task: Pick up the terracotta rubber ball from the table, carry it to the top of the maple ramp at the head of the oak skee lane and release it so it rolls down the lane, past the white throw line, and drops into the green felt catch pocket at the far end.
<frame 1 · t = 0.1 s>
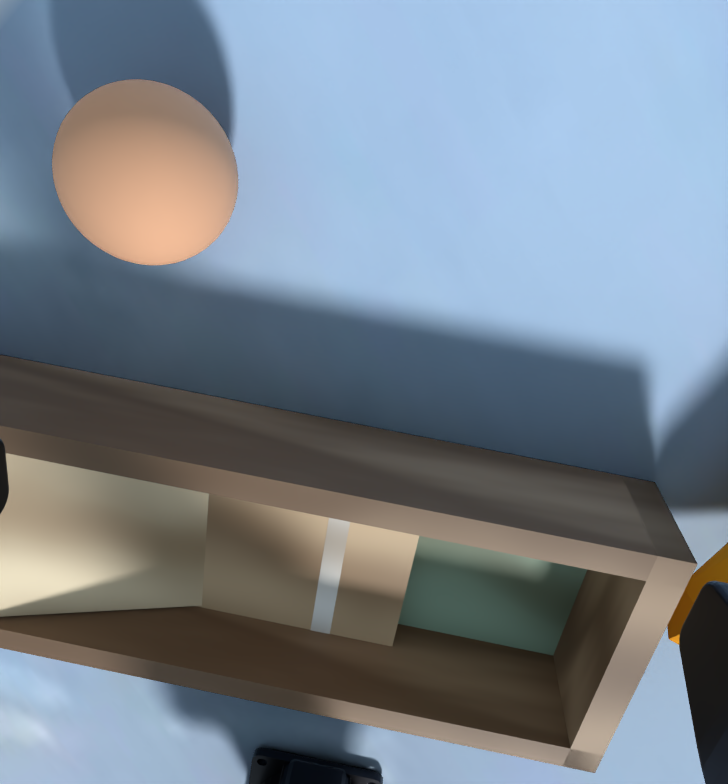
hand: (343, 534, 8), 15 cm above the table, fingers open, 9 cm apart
ball: (149, 176, 19), point 2 cm above the table
lane: (290, 521, 26), on the table
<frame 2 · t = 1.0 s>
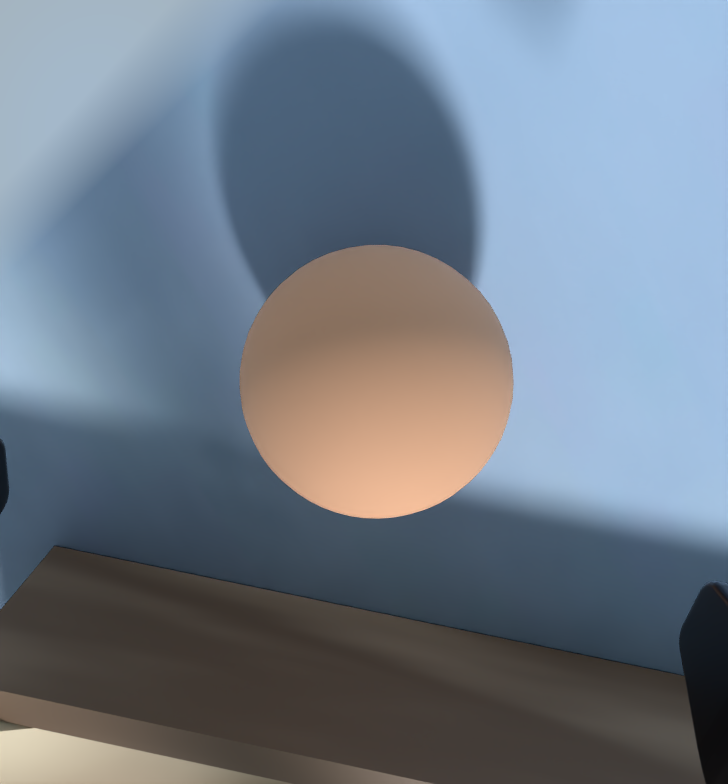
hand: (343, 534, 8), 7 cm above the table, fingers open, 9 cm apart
ball: (375, 381, 12), point 2 cm above the table
lane: (473, 758, 20), on the table
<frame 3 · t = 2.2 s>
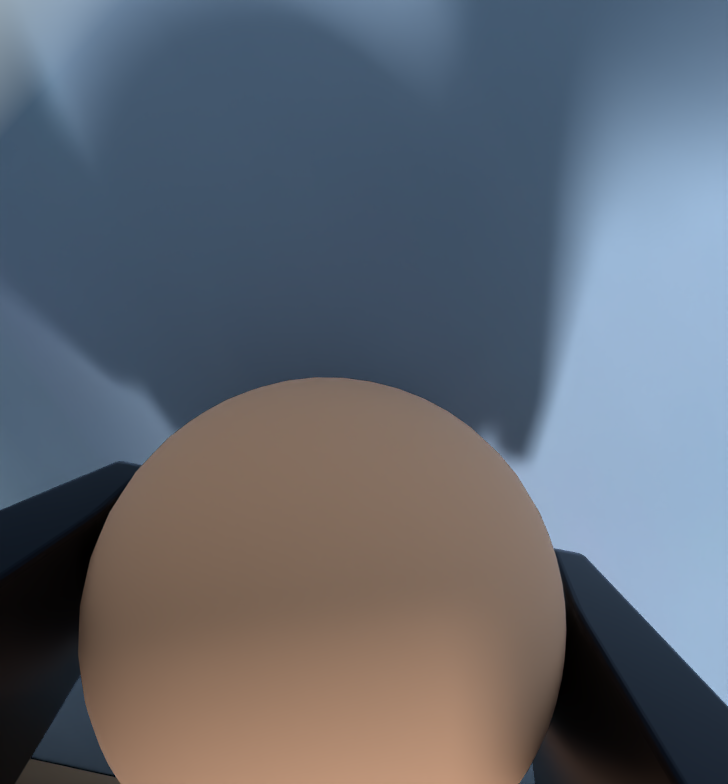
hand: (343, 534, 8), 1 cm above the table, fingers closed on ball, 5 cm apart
ball: (327, 605, 7), point 2 cm above the table, touching gripper
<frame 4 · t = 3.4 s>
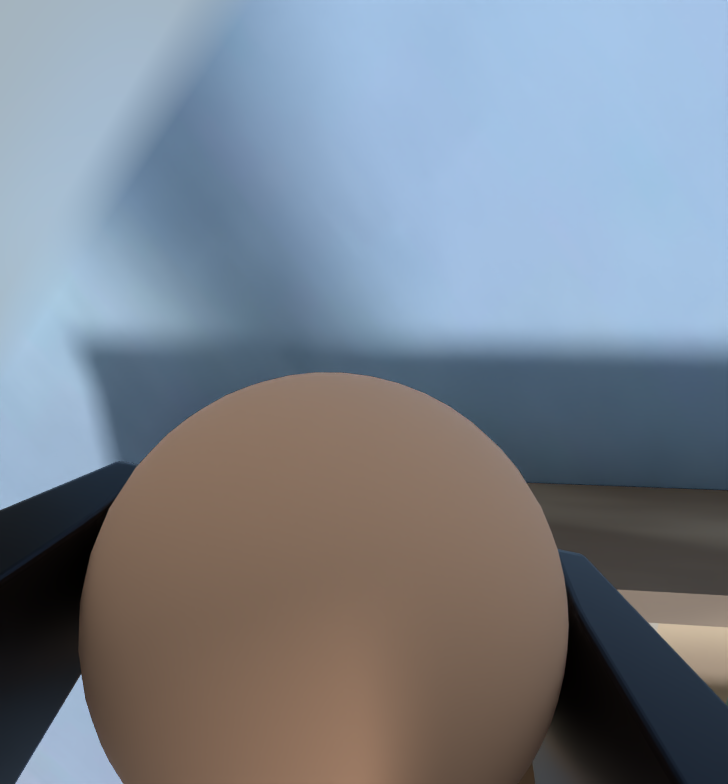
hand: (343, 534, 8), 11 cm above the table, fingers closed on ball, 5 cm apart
ball: (328, 601, 7), point 12 cm above the table, touching gripper
lane: (565, 609, 22), on the table
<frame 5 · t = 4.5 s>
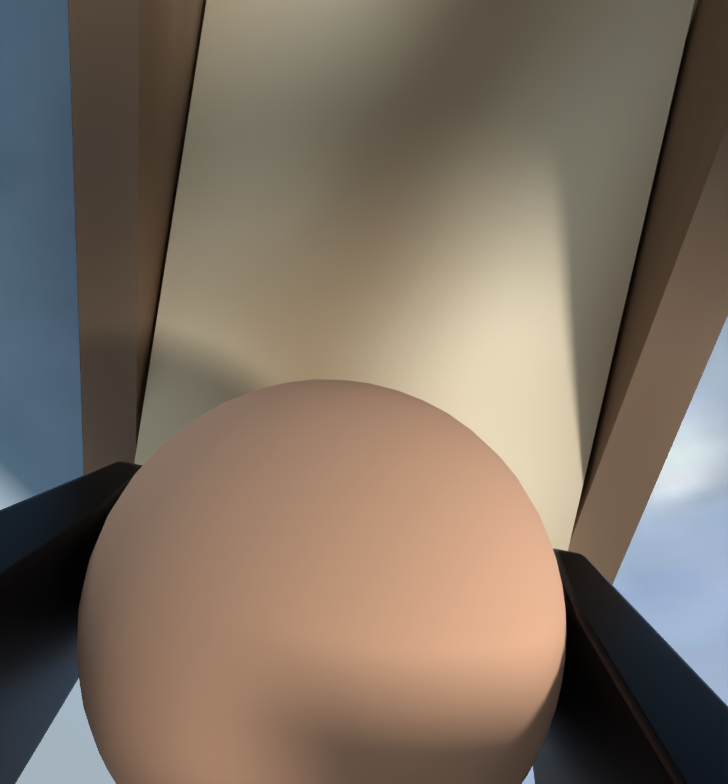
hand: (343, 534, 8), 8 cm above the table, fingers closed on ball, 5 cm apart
ball: (326, 608, 7), point 9 cm above the table, touching gripper
when the fingers open (7 cm above the table, at t = 5.0 s): ball drops 5 cm and tips over, resting on lane.
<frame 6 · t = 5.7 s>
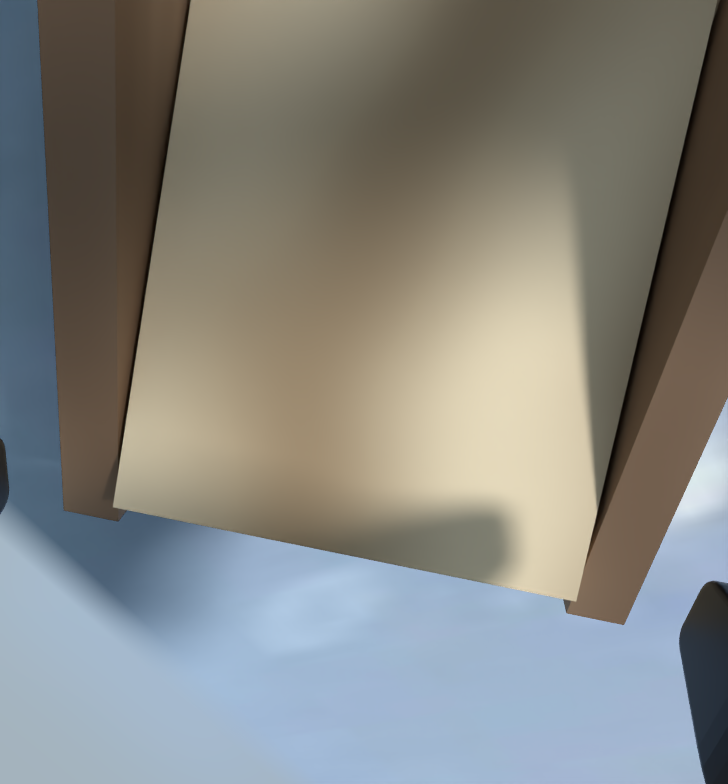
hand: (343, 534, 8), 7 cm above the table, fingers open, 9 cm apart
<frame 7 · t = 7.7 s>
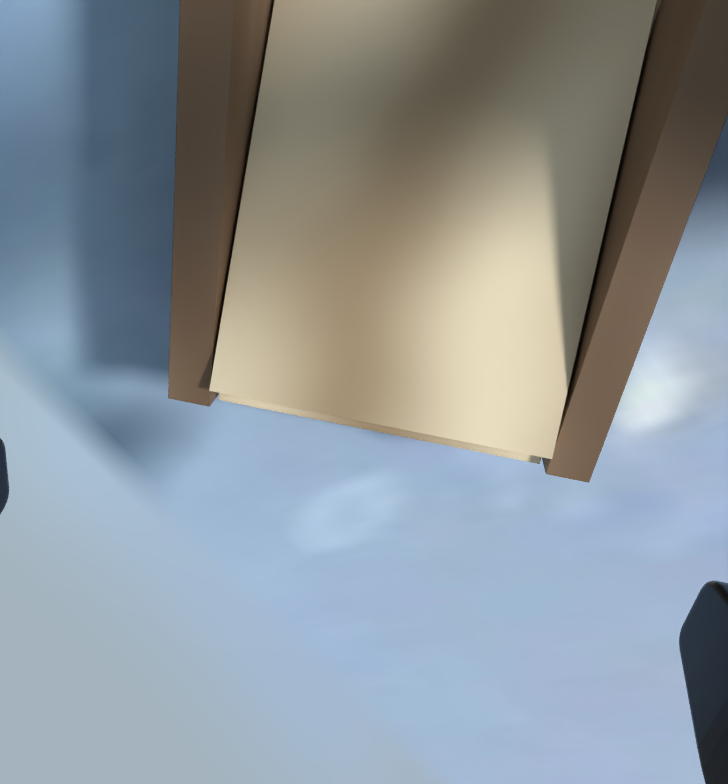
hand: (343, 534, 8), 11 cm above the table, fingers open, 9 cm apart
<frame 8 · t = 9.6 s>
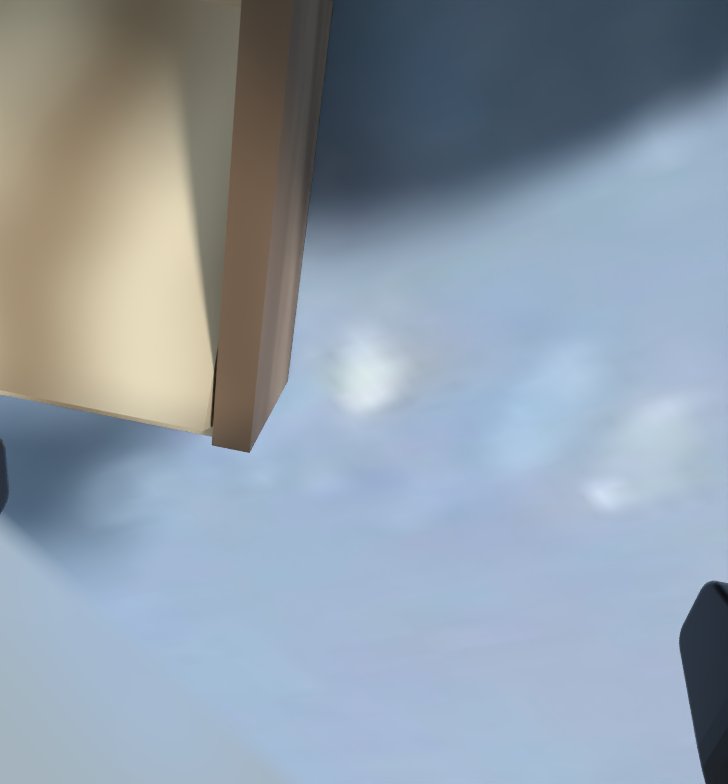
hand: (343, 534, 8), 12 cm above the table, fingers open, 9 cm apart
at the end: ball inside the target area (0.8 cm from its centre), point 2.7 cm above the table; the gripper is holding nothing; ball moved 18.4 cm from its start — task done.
